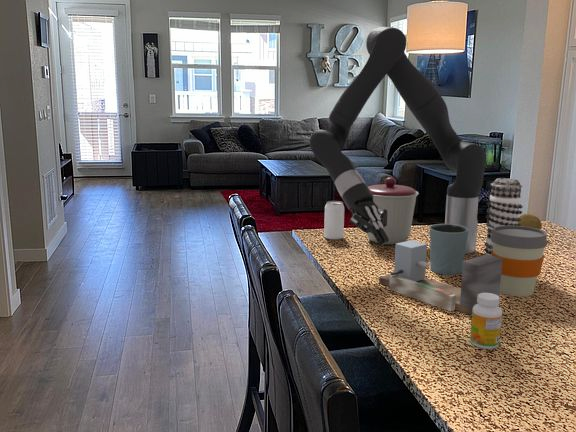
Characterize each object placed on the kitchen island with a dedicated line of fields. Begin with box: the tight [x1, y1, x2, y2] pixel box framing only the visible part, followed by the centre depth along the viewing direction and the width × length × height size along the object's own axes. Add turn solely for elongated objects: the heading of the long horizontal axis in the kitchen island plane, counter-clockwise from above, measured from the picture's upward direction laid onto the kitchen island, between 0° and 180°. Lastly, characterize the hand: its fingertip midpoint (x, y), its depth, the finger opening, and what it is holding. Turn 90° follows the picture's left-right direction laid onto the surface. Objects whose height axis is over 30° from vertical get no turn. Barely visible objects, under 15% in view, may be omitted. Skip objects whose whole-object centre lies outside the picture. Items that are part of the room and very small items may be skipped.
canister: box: [366, 177, 420, 246], centre depth 182 cm, size 18×18×21 cm
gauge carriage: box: [390, 239, 430, 282], centre depth 138 cm, size 8×10×9 cm
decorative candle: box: [483, 177, 524, 255], centre depth 153 cm, size 9×9×25 cm
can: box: [323, 200, 345, 241], centre depth 187 cm, size 6×6×12 cm
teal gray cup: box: [429, 223, 469, 276], centre depth 153 cm, size 10×10×12 cm
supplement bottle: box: [469, 293, 503, 350], centre depth 108 cm, size 5×5×10 cm
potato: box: [518, 213, 543, 230], centre depth 190 cm, size 7×8×8 cm
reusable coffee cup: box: [491, 226, 548, 297], centre depth 137 cm, size 13×12×15 cm
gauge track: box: [378, 254, 503, 316], centre depth 134 cm, size 28×11×12 cm, turn 38°
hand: (385, 243), depth 146 cm, fingers closed
